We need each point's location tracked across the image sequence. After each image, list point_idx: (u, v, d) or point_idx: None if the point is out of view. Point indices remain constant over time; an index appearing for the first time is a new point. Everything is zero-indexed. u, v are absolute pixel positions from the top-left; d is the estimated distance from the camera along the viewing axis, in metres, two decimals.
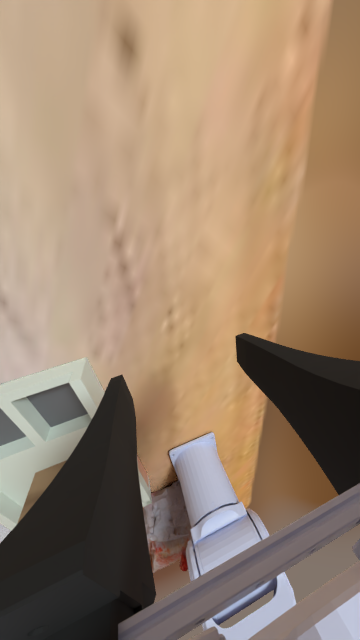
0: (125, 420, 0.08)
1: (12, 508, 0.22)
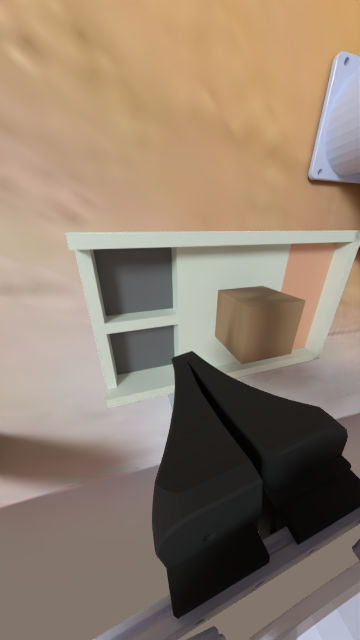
0: None
1: None
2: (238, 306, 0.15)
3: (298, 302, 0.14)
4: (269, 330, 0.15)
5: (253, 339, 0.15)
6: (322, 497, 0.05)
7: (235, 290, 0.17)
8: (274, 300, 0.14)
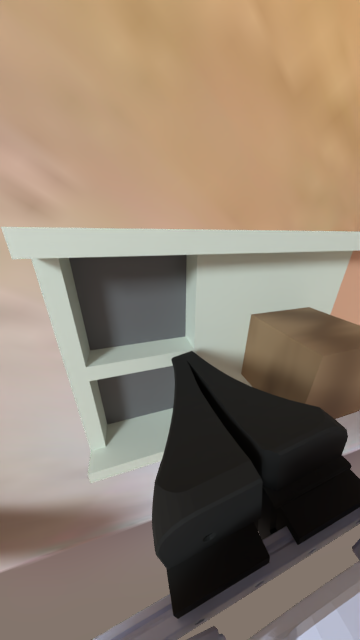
0: None
1: None
2: (292, 346, 0.10)
3: None
4: (340, 384, 0.09)
5: (317, 399, 0.09)
6: (322, 497, 0.05)
7: (276, 315, 0.12)
8: (350, 339, 0.09)
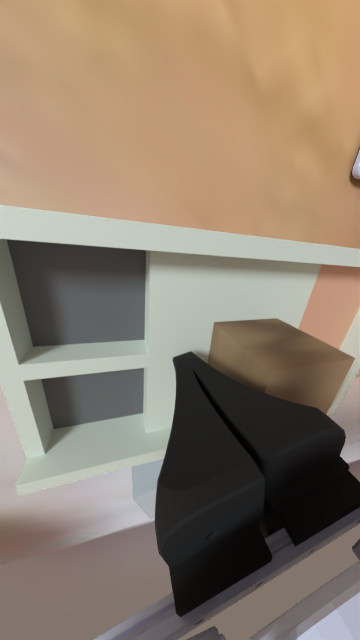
0: None
1: None
2: (246, 359, 0.09)
3: (344, 361, 0.09)
4: None
5: None
6: (320, 499, 0.05)
7: (239, 325, 0.12)
8: (306, 356, 0.09)
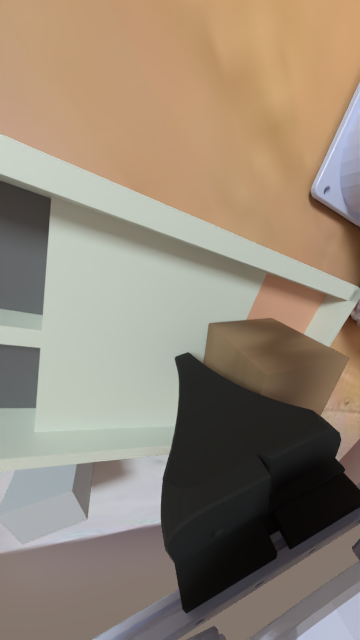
0: None
1: (154, 434, 0.14)
2: (241, 360, 0.09)
3: (339, 361, 0.09)
4: None
5: None
6: (315, 501, 0.05)
7: (234, 325, 0.11)
8: (301, 356, 0.09)
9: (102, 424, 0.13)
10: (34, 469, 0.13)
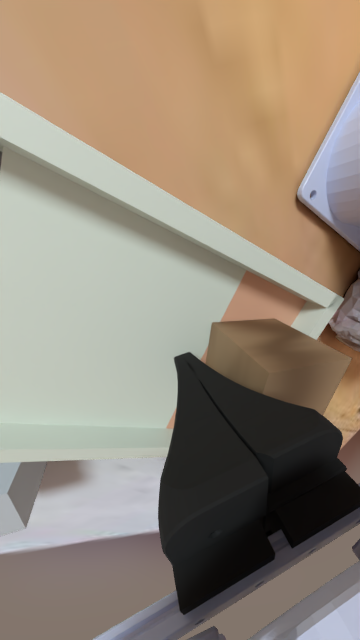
0: None
1: (113, 434, 0.12)
2: (244, 359, 0.09)
3: (341, 361, 0.09)
4: (292, 403, 0.09)
5: None
6: (317, 500, 0.05)
7: (237, 325, 0.12)
8: (304, 356, 0.09)
9: (54, 419, 0.11)
10: None
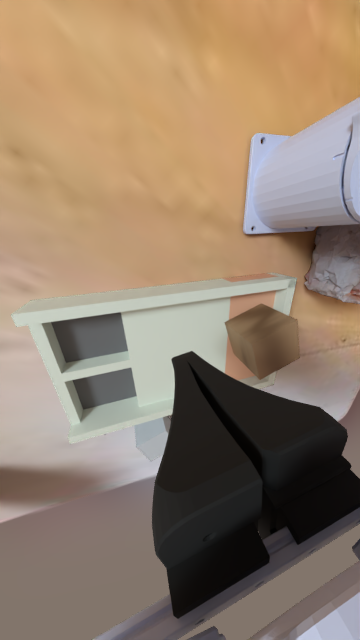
0: None
1: None
2: (242, 339, 0.18)
3: (291, 323, 0.17)
4: (273, 351, 0.18)
5: (263, 361, 0.18)
6: (322, 497, 0.05)
7: (238, 319, 0.21)
8: (271, 328, 0.18)
9: (169, 396, 0.23)
10: (143, 426, 0.24)
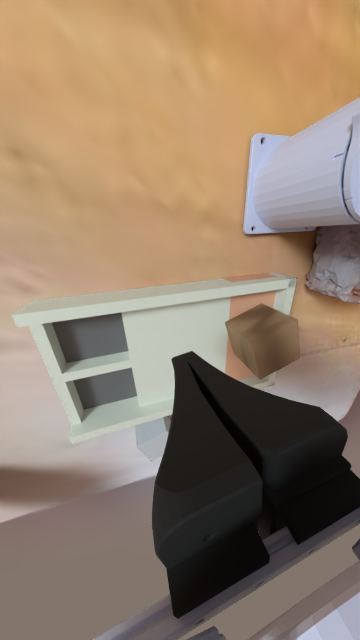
0: None
1: None
2: (243, 339, 0.18)
3: (291, 323, 0.17)
4: (273, 351, 0.18)
5: (263, 361, 0.18)
6: (322, 497, 0.05)
7: (238, 319, 0.21)
8: (271, 328, 0.18)
9: (169, 396, 0.23)
10: (143, 426, 0.24)
